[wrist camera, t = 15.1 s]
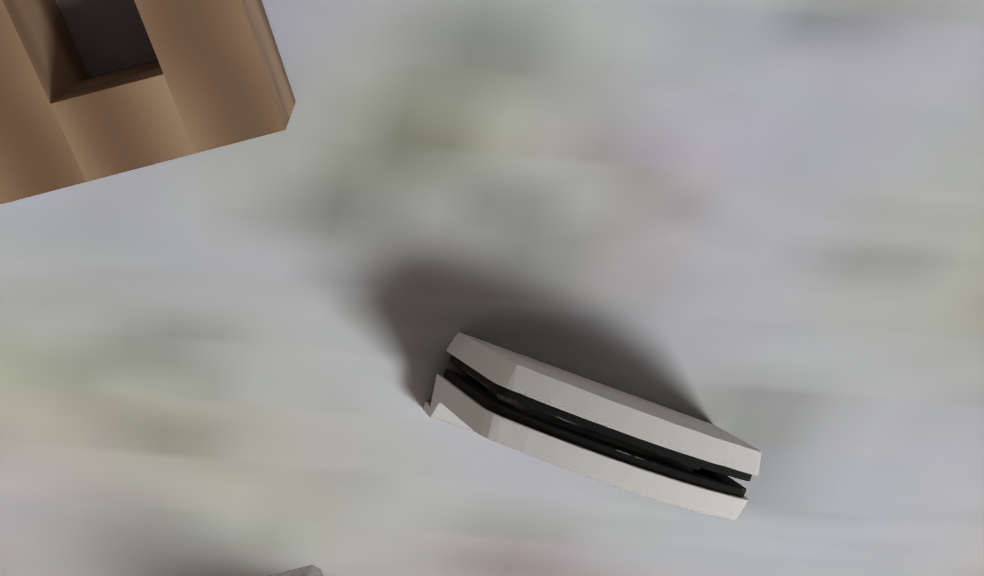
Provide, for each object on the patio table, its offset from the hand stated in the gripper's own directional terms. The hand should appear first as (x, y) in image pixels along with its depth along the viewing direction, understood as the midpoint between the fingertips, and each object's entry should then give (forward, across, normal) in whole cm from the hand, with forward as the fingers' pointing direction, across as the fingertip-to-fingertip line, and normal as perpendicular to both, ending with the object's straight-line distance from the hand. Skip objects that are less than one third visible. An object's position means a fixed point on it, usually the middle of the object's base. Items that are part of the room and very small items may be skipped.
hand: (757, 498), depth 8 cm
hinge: (+34, -2, +22) cm, 41 cm away
